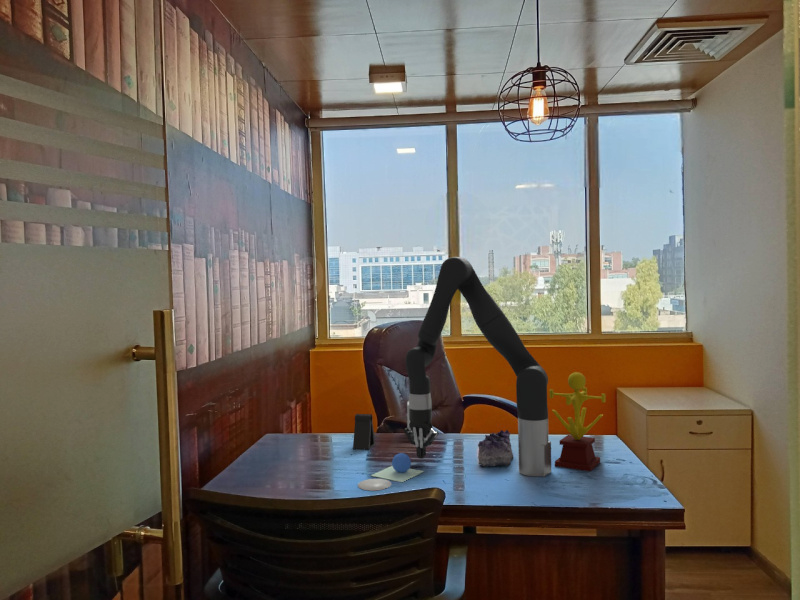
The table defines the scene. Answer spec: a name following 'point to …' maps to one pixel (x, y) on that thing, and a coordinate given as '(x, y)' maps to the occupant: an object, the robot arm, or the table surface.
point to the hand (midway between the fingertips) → (421, 457)
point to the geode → (495, 449)
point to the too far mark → (374, 484)
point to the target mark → (396, 474)
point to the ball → (401, 462)
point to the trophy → (577, 429)
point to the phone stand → (363, 432)
